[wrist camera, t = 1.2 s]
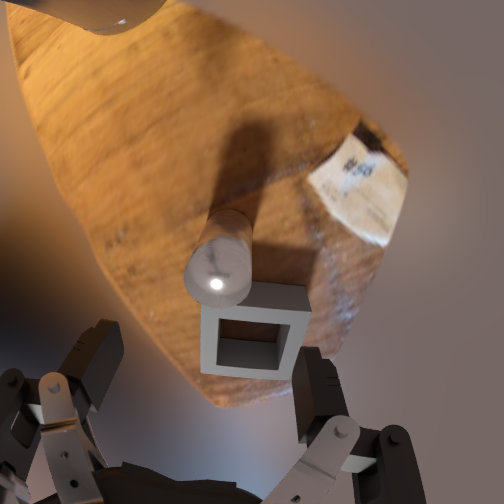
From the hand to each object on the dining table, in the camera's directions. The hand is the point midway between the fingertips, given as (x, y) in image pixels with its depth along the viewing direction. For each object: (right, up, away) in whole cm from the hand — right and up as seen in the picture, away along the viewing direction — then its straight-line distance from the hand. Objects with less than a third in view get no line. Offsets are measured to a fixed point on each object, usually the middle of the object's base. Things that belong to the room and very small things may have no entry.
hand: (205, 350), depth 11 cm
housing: (+2, -2, +16) cm, 16 cm away
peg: (0, +6, +12) cm, 14 cm away
